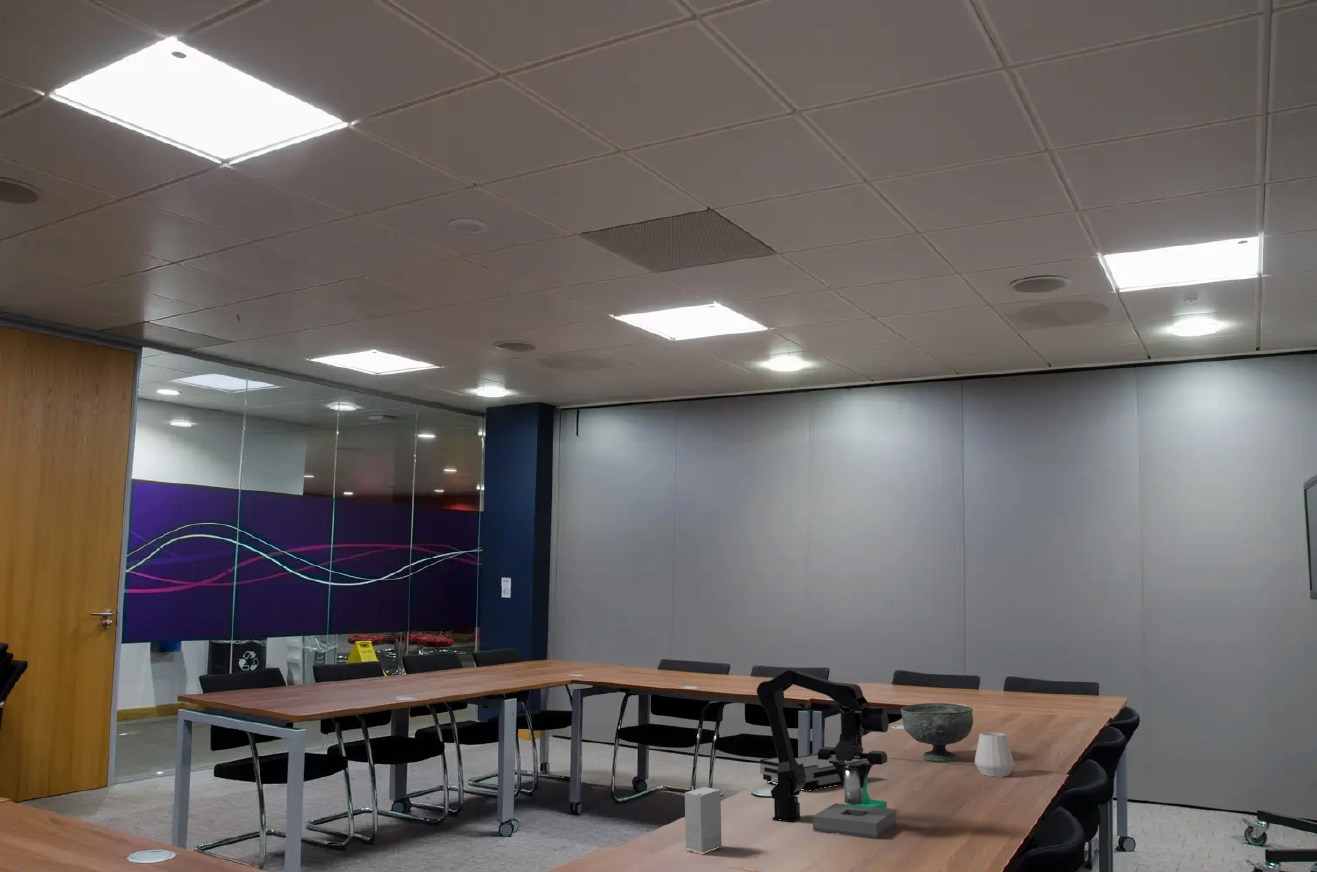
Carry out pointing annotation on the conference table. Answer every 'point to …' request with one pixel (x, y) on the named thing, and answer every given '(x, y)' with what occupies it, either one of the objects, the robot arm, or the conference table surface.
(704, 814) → the skincare box
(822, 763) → the game console
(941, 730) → the decorative bowl
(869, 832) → the mount block
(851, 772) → the tube
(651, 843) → the conference table surface
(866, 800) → the camera mount
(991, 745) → the white faceted vase
